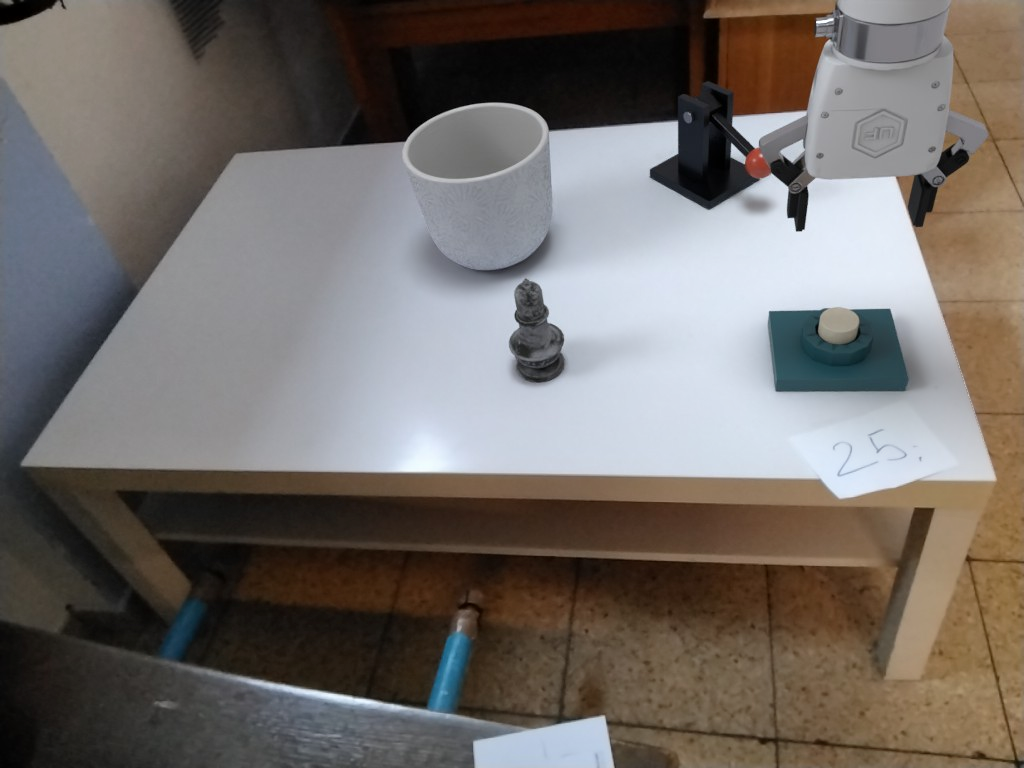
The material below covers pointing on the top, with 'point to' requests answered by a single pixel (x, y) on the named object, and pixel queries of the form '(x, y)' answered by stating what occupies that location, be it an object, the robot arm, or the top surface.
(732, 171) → the lever base
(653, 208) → the top surface
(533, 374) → the stone chess piece
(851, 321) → the button
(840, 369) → the block
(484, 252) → the planter
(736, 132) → the lever
